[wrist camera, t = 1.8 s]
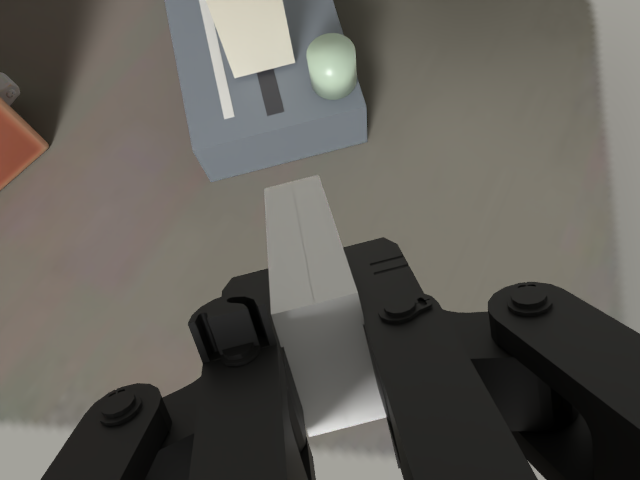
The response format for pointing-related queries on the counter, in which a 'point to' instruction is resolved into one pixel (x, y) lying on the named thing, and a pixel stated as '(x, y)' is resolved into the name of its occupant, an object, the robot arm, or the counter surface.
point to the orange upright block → (15, 136)
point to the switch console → (259, 95)
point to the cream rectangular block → (252, 34)
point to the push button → (332, 66)
